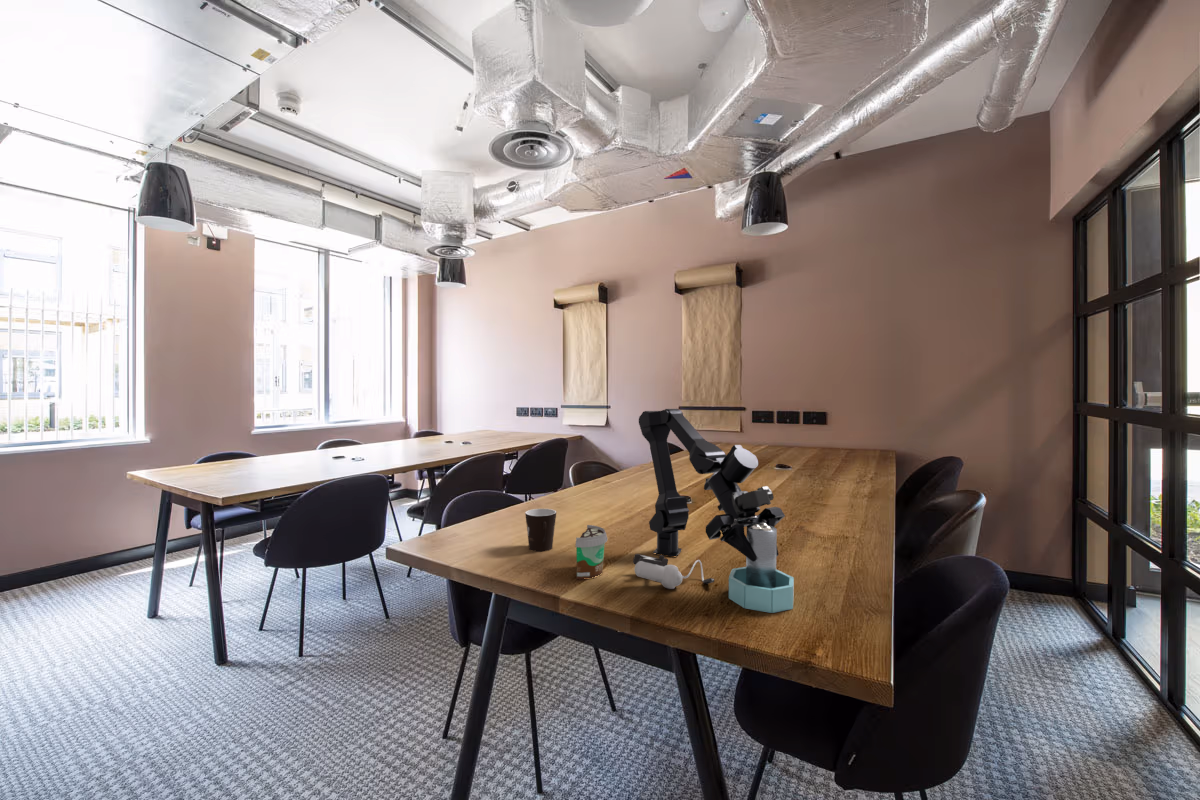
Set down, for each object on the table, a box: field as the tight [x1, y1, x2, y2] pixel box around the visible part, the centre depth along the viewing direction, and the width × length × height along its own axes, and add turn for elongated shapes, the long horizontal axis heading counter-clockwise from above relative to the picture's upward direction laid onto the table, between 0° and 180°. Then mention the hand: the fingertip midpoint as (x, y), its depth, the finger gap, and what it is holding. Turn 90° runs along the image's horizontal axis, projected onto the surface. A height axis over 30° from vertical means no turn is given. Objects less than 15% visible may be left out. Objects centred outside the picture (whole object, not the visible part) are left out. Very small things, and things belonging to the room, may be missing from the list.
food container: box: [575, 524, 608, 580], centre depth 116 cm, size 12×6×10 cm, turn 168°
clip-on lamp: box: [632, 553, 715, 590], centre depth 111 cm, size 12×6×18 cm
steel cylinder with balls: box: [745, 523, 778, 588], centre depth 102 cm, size 6×6×13 cm
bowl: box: [728, 566, 795, 614], centre depth 102 cm, size 13×13×4 cm
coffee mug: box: [524, 508, 557, 553], centre depth 134 cm, size 12×9×10 cm
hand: (766, 558), depth 101 cm, fingers closed on steel cylinder with balls, 6 cm apart
